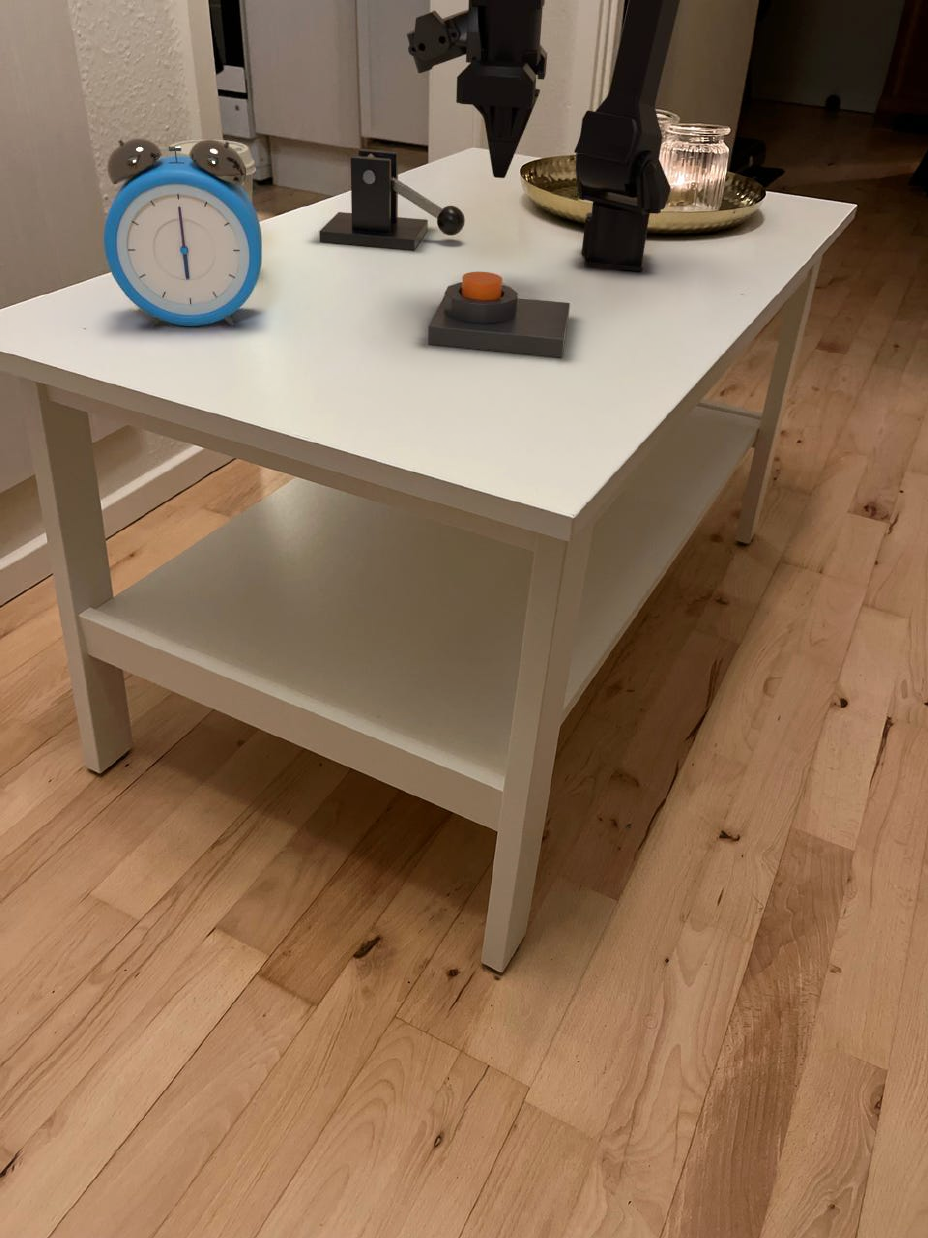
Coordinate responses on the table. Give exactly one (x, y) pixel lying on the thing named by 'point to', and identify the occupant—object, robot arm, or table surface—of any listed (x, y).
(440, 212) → the lever
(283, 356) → the table surface
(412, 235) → the bracket
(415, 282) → the table surface
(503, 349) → the button block
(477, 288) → the button
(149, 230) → the alarm clock
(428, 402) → the table surface
